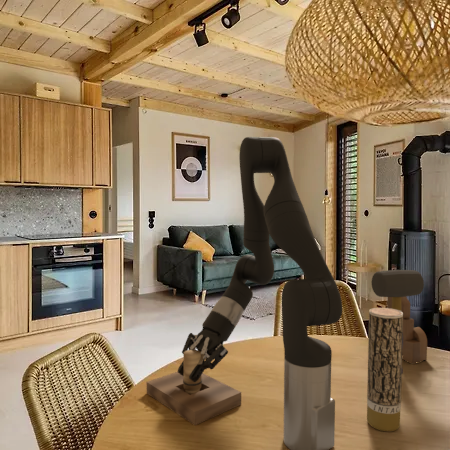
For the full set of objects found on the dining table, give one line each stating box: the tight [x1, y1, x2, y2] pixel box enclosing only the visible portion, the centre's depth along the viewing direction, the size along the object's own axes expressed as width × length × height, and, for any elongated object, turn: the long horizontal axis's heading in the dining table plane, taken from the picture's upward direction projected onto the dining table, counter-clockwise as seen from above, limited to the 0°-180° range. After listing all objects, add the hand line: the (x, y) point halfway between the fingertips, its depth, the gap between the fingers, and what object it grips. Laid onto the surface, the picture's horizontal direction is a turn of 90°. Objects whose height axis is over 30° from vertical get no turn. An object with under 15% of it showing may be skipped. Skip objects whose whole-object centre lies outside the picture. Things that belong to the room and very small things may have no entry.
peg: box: [183, 349, 202, 395], centre depth 102 cm, size 5×5×10 cm
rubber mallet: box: [371, 269, 425, 376], centre depth 114 cm, size 12×8×30 cm, turn 102°
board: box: [146, 371, 242, 426], centre depth 102 cm, size 20×14×3 cm
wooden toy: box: [386, 296, 428, 364], centre depth 131 cm, size 16×7×25 cm, turn 25°
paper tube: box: [366, 307, 403, 432], centre depth 90 cm, size 7×7×25 cm
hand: (186, 376), depth 100 cm, fingers closed on peg, 4 cm apart
